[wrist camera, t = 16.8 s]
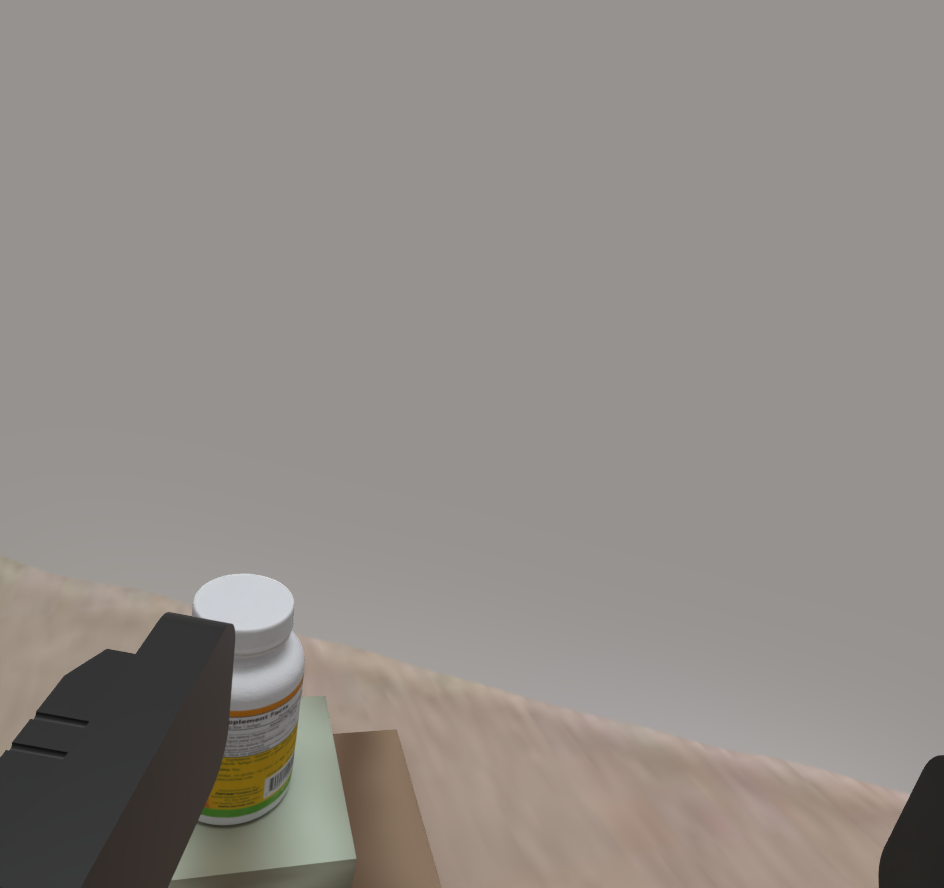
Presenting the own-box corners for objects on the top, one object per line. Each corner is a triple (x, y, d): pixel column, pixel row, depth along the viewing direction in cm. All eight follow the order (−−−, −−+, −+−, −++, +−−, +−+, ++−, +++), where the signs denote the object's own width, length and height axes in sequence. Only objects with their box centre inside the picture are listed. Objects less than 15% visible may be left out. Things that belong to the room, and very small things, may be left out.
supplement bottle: (162, 744, 40) (169, 566, 36) (280, 730, 42) (299, 560, 38) (169, 840, 35) (177, 647, 32) (300, 818, 37) (324, 635, 34)
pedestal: (393, 745, 51) (408, 660, 48) (461, 993, 38) (486, 895, 36) (14, 774, 44) (9, 678, 42) (-60, 1085, 32) (-73, 973, 29)
